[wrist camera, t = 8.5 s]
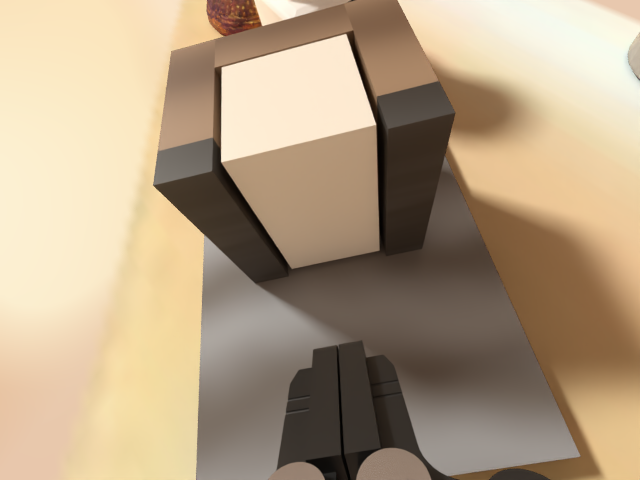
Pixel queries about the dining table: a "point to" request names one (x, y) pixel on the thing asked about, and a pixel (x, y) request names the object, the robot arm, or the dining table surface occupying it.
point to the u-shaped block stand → (352, 270)
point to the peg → (304, 150)
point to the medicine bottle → (290, 8)
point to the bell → (233, 15)
